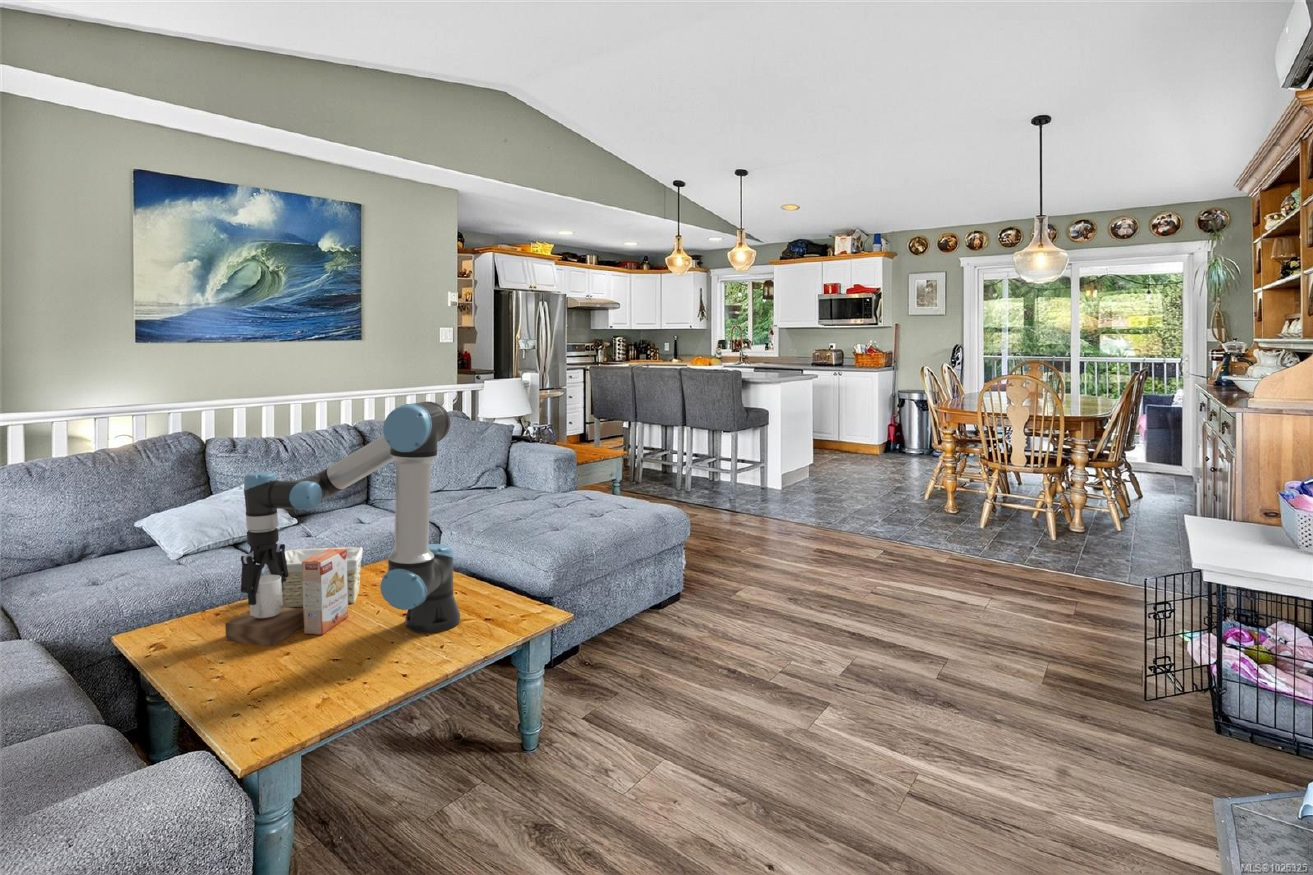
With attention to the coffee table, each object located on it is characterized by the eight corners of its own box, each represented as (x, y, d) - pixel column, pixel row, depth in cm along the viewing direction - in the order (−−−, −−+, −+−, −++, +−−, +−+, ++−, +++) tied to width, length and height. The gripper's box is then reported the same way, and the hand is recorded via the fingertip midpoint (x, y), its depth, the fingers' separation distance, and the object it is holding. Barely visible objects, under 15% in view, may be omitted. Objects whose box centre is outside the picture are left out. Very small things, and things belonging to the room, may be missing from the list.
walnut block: (307, 626, 203) (306, 609, 202) (271, 646, 189) (270, 628, 189) (264, 622, 206) (263, 605, 205) (226, 641, 192) (225, 623, 191)
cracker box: (324, 635, 196) (320, 562, 194) (303, 634, 197) (299, 561, 194) (350, 617, 210) (347, 548, 208) (330, 616, 211) (327, 547, 208)
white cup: (249, 621, 191) (247, 585, 190) (251, 611, 198) (249, 576, 197) (283, 616, 195) (281, 581, 194) (283, 607, 202) (281, 573, 201)
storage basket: (365, 588, 236) (363, 545, 234) (359, 605, 220) (357, 558, 219) (285, 594, 229) (283, 549, 228) (273, 611, 214) (270, 564, 212)
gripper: (277, 519, 205) (281, 596, 207) (220, 537, 185) (225, 622, 187) (300, 521, 203) (304, 598, 206) (245, 539, 183) (250, 625, 186)
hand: (266, 609), depth 197 cm, fingers closed on white cup, 7 cm apart
